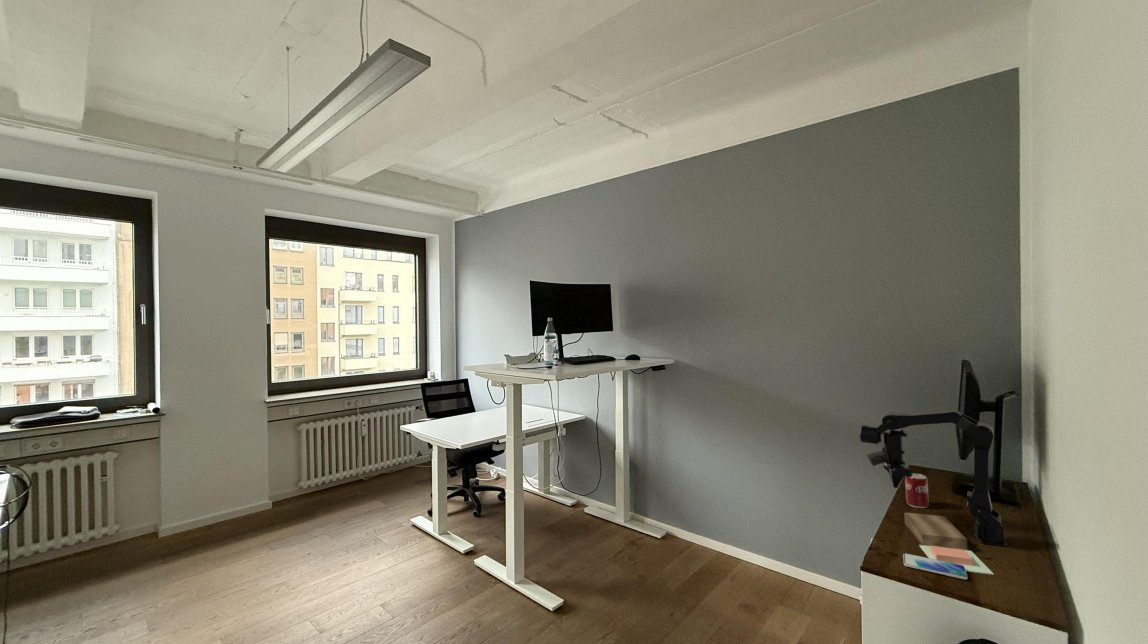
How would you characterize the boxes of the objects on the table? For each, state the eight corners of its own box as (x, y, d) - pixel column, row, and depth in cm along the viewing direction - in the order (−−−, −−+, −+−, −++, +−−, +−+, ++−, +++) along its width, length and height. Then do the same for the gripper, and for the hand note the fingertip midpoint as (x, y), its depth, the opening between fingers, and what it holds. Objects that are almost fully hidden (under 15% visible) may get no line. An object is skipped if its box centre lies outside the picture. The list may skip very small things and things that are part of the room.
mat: (971, 551, 145) (971, 550, 145) (993, 574, 132) (993, 573, 132) (919, 545, 150) (919, 544, 150) (936, 567, 137) (936, 566, 137)
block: (972, 559, 136) (972, 565, 136) (964, 549, 142) (964, 556, 142) (936, 554, 140) (936, 560, 140) (929, 545, 145) (930, 551, 145)
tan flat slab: (944, 527, 162) (943, 516, 162) (967, 551, 145) (966, 539, 145) (904, 523, 166) (904, 512, 166) (922, 546, 150) (922, 534, 150)
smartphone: (903, 552, 144) (964, 565, 135) (903, 555, 144) (964, 568, 135) (903, 563, 138) (968, 578, 129) (903, 566, 138) (968, 580, 129)
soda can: (931, 505, 180) (930, 476, 181) (924, 510, 176) (923, 480, 176) (910, 500, 186) (909, 471, 187) (903, 504, 182) (902, 475, 182)
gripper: (862, 439, 181) (864, 477, 181) (875, 451, 163) (877, 494, 163) (895, 440, 177) (896, 479, 177) (911, 453, 159) (913, 497, 159)
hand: (895, 487), depth 169 cm, fingers closed
